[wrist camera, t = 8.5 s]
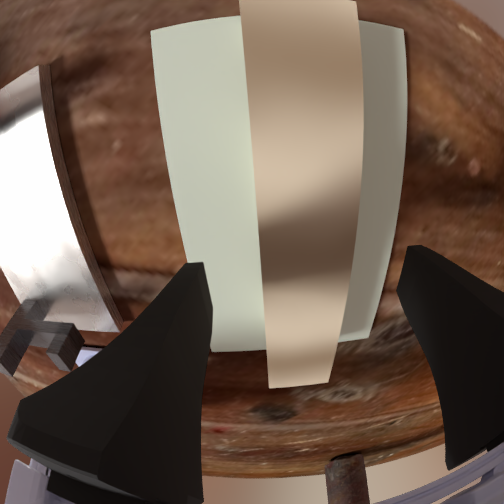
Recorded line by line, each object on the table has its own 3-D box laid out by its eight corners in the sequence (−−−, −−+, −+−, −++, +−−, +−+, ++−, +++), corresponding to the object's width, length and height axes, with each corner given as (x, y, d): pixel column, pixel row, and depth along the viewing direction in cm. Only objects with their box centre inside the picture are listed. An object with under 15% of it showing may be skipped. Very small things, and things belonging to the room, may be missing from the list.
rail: (318, 338, 18) (328, 382, 15) (266, 343, 18) (269, 388, 15) (326, 23, 8) (356, 1, 5) (241, 23, 8) (238, -4, 5)
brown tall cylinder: (319, 464, 41) (328, 549, 24) (325, 456, 37) (337, 552, 20) (356, 458, 41) (369, 540, 24) (367, 447, 37) (383, 540, 20)
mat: (365, 331, 19) (368, 337, 18) (212, 345, 19) (211, 351, 18) (397, 31, 8) (403, 29, 8) (154, 33, 9) (150, 31, 8)
